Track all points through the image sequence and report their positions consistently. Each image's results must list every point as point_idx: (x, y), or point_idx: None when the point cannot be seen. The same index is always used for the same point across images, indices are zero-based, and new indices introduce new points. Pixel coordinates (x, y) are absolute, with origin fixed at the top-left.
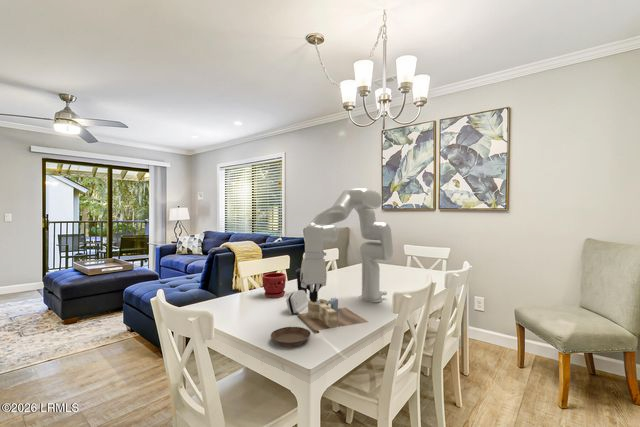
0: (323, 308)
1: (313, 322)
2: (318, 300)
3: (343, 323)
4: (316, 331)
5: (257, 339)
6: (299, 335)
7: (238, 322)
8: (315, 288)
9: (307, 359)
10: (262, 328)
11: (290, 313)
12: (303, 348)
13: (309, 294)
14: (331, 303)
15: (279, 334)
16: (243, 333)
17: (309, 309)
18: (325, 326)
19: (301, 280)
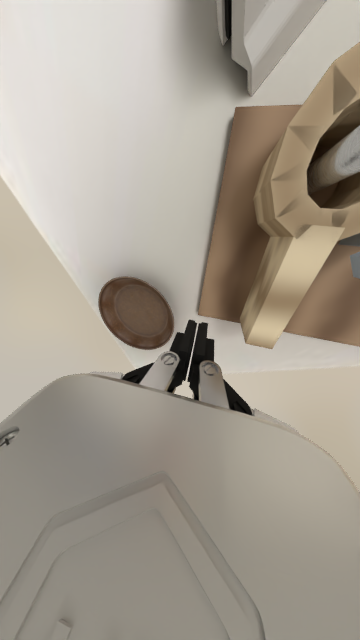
0: (267, 293)
1: (227, 263)
2: (355, 168)
3: (295, 318)
4: (200, 314)
5: (83, 275)
6: (161, 305)
7: (3, 82)
8: (198, 389)
9: None
10: (89, 209)
11: (220, 32)
12: None
13: (172, 344)
14: (355, 273)
15: (122, 284)
16: (49, 222)
17: (263, 181)
18: (235, 308)
19: (55, 385)
